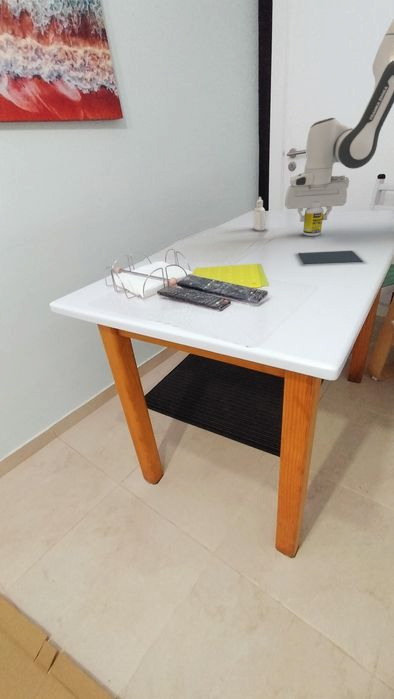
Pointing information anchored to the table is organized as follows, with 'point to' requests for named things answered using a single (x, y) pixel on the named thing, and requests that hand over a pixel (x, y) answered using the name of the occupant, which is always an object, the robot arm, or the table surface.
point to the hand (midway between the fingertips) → (313, 220)
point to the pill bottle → (313, 220)
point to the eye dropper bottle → (259, 216)
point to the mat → (329, 257)
